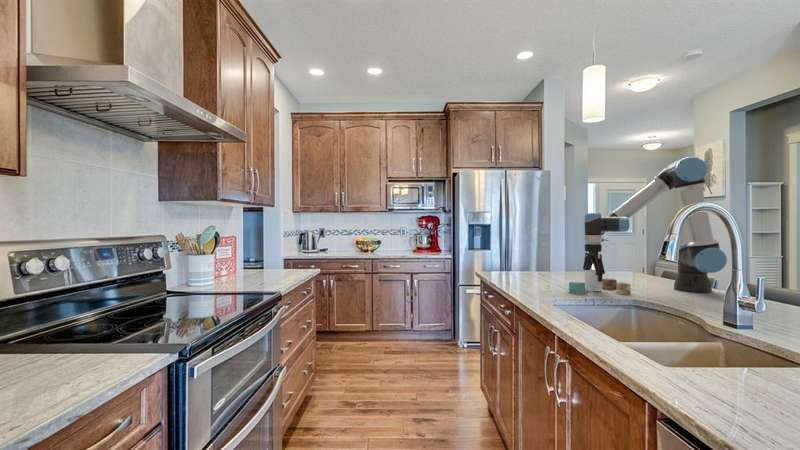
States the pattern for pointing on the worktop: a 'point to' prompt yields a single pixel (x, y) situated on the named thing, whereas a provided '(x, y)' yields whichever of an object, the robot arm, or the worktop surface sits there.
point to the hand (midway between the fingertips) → (593, 286)
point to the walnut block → (609, 284)
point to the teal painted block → (577, 287)
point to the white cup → (591, 280)
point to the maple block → (623, 288)
